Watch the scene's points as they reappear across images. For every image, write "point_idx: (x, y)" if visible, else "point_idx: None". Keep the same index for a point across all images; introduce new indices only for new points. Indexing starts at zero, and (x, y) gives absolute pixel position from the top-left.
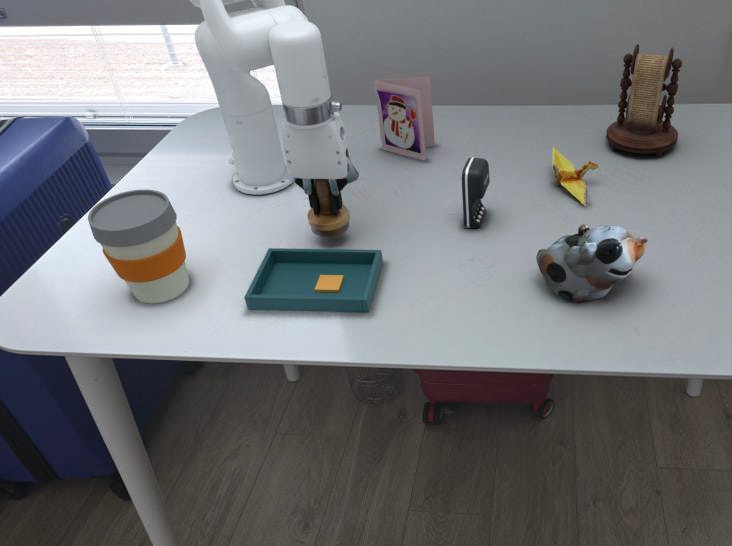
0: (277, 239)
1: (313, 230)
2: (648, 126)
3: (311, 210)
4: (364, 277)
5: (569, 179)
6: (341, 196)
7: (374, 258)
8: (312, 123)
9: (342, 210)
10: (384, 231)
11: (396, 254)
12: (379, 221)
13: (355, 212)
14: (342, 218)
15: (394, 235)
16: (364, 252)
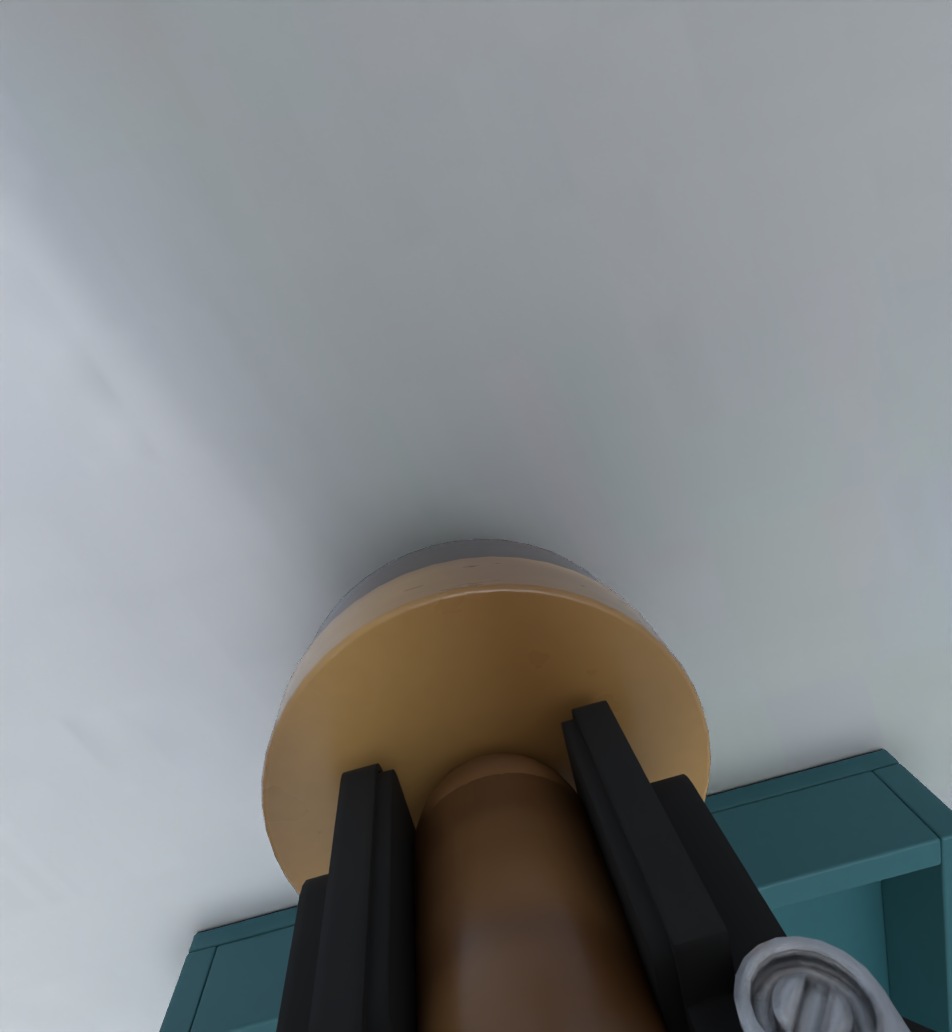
0: (32, 718)
1: None
2: None
3: (289, 816)
4: (827, 912)
5: None
6: (736, 855)
7: (946, 919)
8: None
9: (627, 705)
10: (790, 392)
11: (940, 630)
12: (707, 258)
13: (439, 164)
14: None
15: (879, 423)
16: (859, 882)
